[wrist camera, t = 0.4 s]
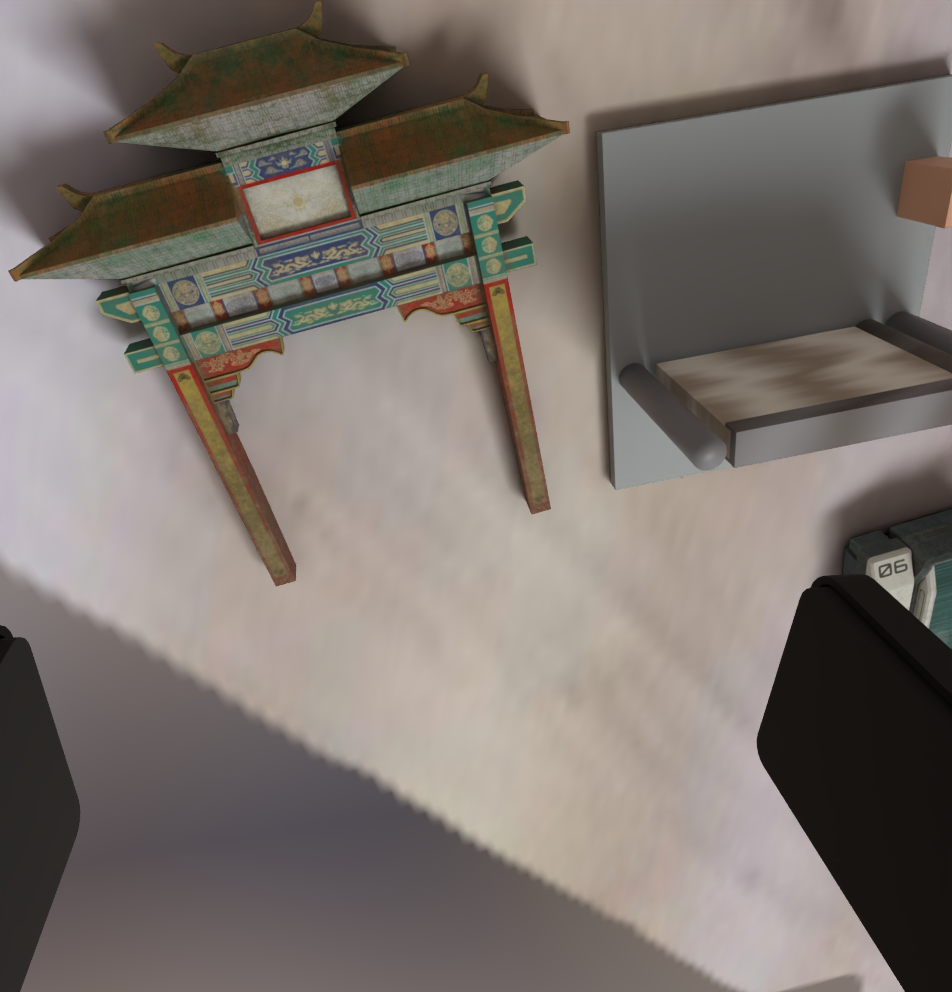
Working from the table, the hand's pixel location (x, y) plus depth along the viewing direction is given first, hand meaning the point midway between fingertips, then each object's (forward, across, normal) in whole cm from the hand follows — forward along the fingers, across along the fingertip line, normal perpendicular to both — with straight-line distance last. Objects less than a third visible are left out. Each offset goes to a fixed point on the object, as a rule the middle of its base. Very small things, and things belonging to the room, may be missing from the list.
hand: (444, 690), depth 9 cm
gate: (+34, -25, +7) cm, 43 cm away
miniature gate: (+36, +2, +5) cm, 37 cm away
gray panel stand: (+36, -24, +4) cm, 43 cm away
